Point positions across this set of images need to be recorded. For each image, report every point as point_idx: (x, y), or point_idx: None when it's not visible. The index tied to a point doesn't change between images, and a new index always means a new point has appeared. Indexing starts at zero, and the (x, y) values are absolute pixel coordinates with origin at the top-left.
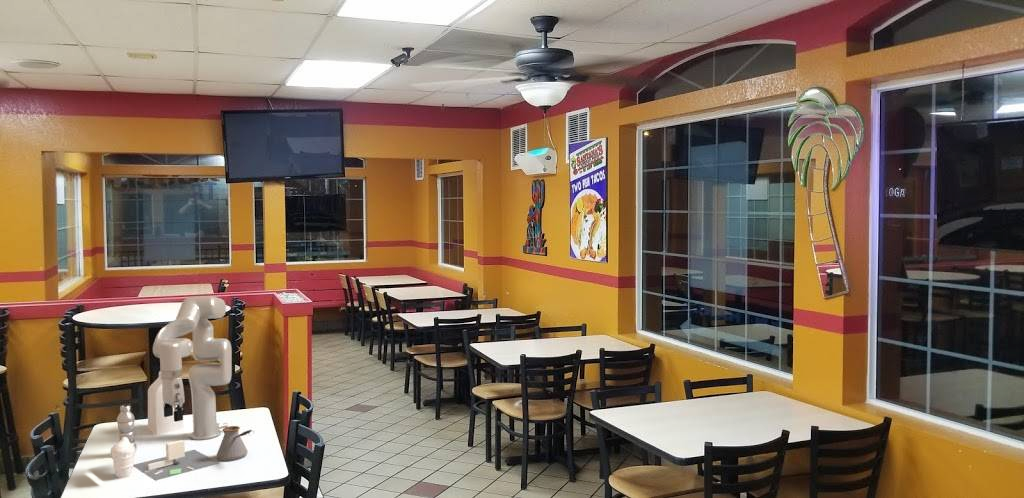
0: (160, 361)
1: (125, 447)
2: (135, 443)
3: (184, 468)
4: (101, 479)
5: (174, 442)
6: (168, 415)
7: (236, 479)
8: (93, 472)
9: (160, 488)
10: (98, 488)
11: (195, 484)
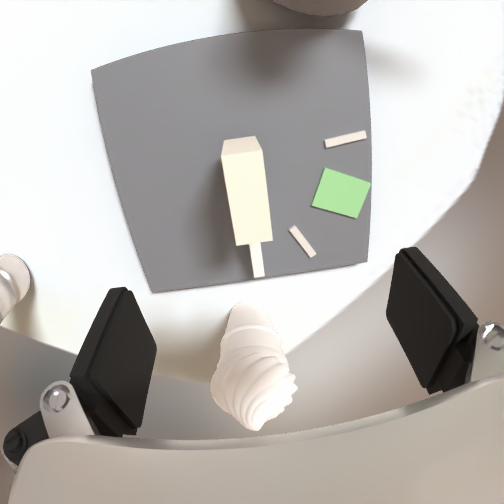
0: None
1: (287, 399)
2: (1, 268)
3: (325, 154)
4: (204, 349)
5: (247, 203)
6: (143, 328)
7: (483, 71)
8: None
9: None
10: None
11: (446, 166)
